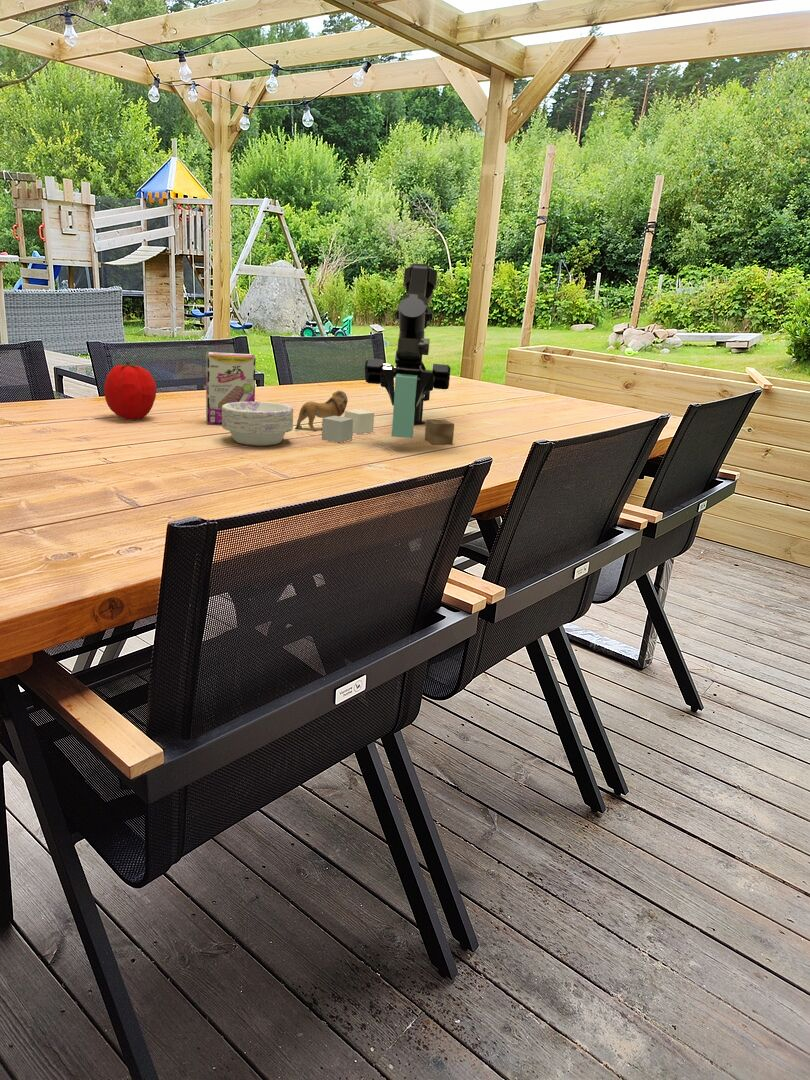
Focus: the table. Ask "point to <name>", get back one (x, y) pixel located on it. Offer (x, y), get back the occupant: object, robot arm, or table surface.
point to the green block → (404, 405)
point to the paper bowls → (257, 422)
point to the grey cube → (337, 428)
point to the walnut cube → (439, 432)
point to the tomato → (130, 391)
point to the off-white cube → (361, 420)
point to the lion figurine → (323, 409)
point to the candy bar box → (228, 382)
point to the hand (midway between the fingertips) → (404, 405)
